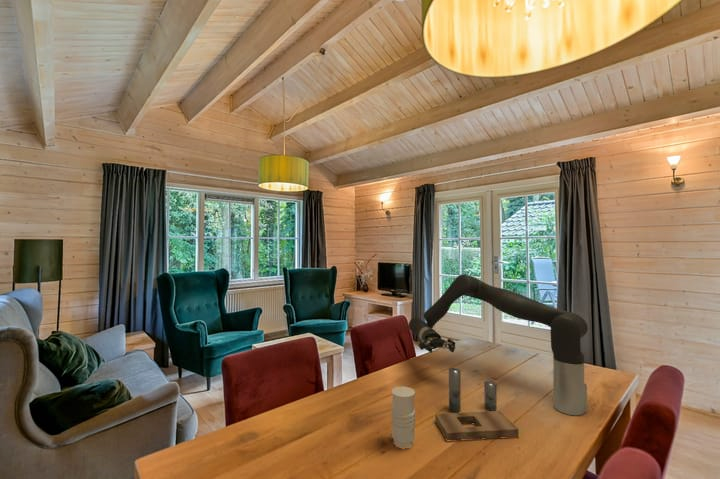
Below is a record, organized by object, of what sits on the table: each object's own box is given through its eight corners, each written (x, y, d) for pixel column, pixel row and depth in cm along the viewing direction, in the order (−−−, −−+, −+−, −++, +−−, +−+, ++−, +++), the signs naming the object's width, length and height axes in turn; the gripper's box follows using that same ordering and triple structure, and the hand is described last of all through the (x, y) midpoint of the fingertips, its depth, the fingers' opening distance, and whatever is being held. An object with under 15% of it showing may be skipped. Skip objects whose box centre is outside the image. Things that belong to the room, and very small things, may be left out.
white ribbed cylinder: (414, 451, 94) (414, 398, 95) (390, 448, 96) (390, 395, 96) (415, 437, 101) (415, 387, 101) (392, 435, 103) (392, 385, 103)
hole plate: (499, 418, 112) (499, 410, 112) (518, 437, 101) (518, 429, 101) (435, 421, 110) (435, 413, 110) (447, 441, 99) (447, 433, 99)
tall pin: (458, 407, 120) (458, 367, 120) (462, 413, 116) (462, 372, 116) (447, 407, 119) (447, 368, 119) (451, 413, 115) (451, 372, 115)
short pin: (493, 405, 121) (493, 380, 121) (498, 411, 117) (498, 385, 117) (482, 406, 121) (482, 380, 121) (487, 411, 117) (487, 385, 117)
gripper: (413, 329, 146) (424, 340, 130) (445, 328, 147) (460, 339, 131) (413, 346, 146) (424, 360, 130) (445, 345, 147) (460, 359, 131)
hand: (442, 349), depth 130 cm, fingers open, 8 cm apart
